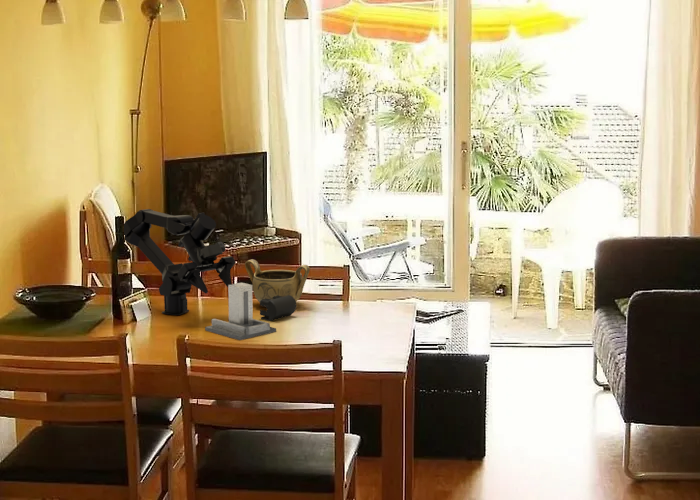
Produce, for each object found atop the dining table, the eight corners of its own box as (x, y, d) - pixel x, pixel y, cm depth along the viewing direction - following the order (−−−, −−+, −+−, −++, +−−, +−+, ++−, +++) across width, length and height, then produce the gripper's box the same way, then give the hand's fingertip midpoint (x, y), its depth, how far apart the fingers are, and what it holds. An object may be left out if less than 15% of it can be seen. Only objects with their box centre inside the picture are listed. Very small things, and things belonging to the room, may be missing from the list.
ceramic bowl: (235, 309, 332) (234, 263, 329) (259, 298, 347) (258, 255, 344) (297, 315, 323) (297, 269, 321) (319, 304, 339) (319, 260, 336)
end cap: (276, 323, 314) (275, 301, 313) (258, 319, 318) (258, 298, 317) (296, 317, 322) (296, 296, 321) (279, 313, 326) (279, 293, 325)
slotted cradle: (205, 330, 304) (205, 320, 304) (241, 322, 314) (241, 312, 314) (239, 340, 293) (239, 330, 293) (276, 331, 303) (276, 321, 303)
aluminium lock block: (228, 327, 304) (228, 284, 301) (241, 324, 307) (241, 282, 305) (239, 330, 300) (239, 287, 298) (252, 327, 303) (252, 285, 301)
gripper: (182, 237, 303) (205, 279, 298) (231, 230, 316) (254, 270, 311) (167, 259, 310) (189, 300, 304) (216, 252, 323) (238, 291, 318)
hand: (219, 290), depth 309 cm, fingers open, 9 cm apart
